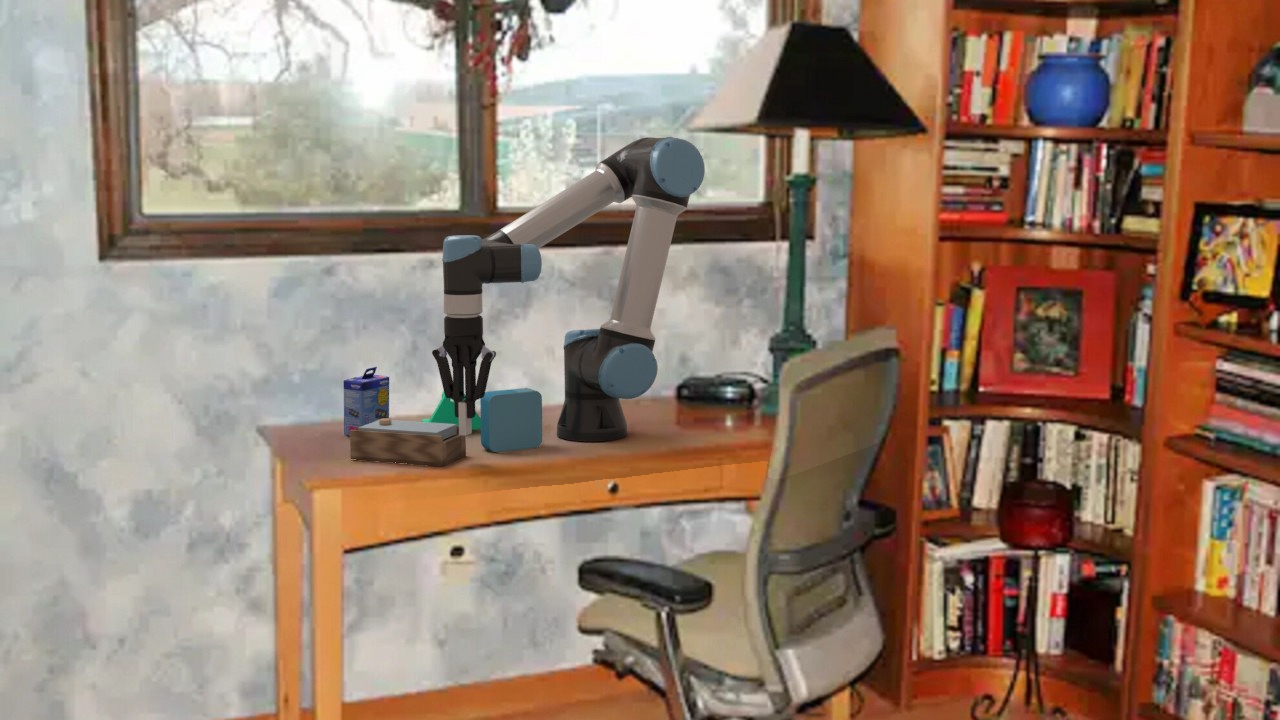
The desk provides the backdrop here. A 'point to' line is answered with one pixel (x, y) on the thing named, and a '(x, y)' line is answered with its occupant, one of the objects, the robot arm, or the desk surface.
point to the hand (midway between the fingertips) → (465, 433)
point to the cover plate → (411, 427)
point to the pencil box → (406, 447)
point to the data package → (511, 420)
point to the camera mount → (450, 414)
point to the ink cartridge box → (365, 400)
